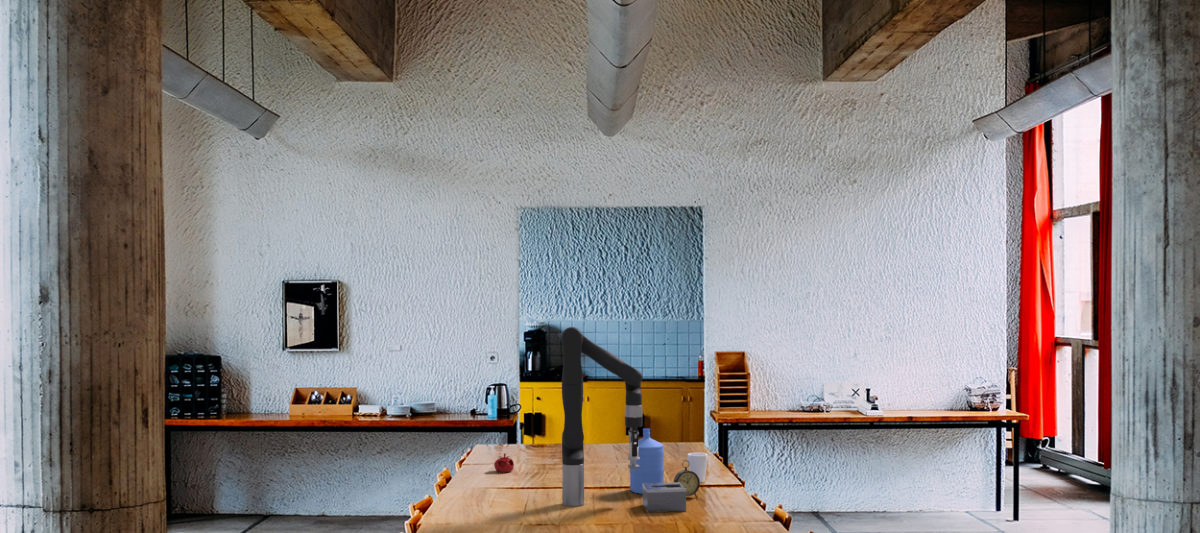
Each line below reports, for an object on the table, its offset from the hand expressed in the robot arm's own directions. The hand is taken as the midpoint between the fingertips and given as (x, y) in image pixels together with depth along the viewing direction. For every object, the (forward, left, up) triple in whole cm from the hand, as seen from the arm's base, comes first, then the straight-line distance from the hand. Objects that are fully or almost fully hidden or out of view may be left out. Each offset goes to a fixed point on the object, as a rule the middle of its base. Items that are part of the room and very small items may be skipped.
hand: (633, 455), depth 388 cm
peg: (0, 0, -5) cm, 5 cm away
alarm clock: (+24, +7, -20) cm, 32 cm away
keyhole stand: (+11, -11, -20) cm, 25 cm away
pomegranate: (-56, +79, -20) cm, 99 cm away
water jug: (+9, +23, -20) cm, 32 cm away
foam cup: (+36, +40, -20) cm, 58 cm away
